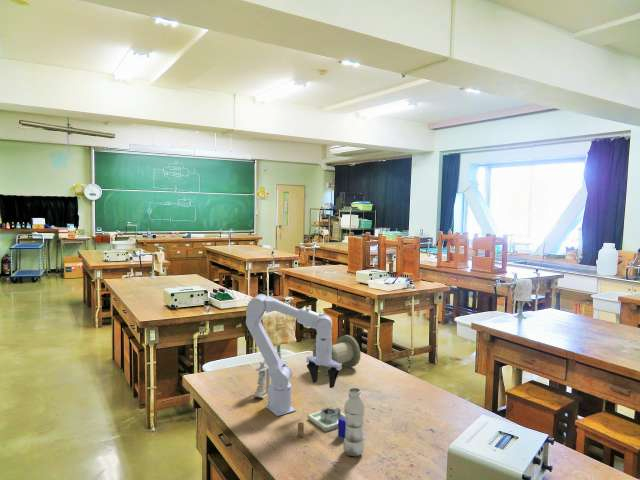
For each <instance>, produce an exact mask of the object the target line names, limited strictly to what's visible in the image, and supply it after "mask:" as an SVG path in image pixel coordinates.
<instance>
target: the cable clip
mask: <svg viewBox="0 0 640 480" xmlns="http://www.w3.org/2000/svg"><path fill="white" fill-rule="evenodd" d="M345 430H346V419H344V418H341V417H340V418H339V419H338V428H337V437H339V438H343V439H344V438H345Z"/></svg>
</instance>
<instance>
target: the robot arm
mask: <svg viewBox="0 0 640 480" xmlns="http://www.w3.org/2000/svg"><path fill="white" fill-rule="evenodd" d="M245 312H246V313H245V314H246V315H245V316H246V317H245V318H246V319H245V325H246V327H247V329H248V331H249V333H250V335H251V337H252V339H253V341H254V343H255V344H256V346H257V348H258V350H259V352H260V354H261V356H262V358H263V359H264V360H265V361H266V363H265V364H266V366H268V369H269V375H270V383H271V384H270V386H269V388H268V395H267V404H266V405H265V408H267V409H268V410H269V411H270V412H272V413H273V414H274V415H275V416H276V417H279V416H282V415H285V414H289V413H293V412H296V410H297V409H296V408H295V407H293V406H292V384H291V382H290V379H291V378H292V375H293V372H292V369H291V368H290V367H289V365H287V364H286V363H285V361H284V360H283V359H282V358H280V355H279V354H278V352H277V350H276V347H274V345H273V342H272V340H271V339H270V337H269V335H268V333H267V331H266V329H265V327H264V326H263V324H262V323H263V322H262V319H263V317H264V314H265V313H266V314H267V313H271V312H278V313H281V314H284V315H286V316H290V317H292V318H295V320H296V321H297V323H299V324H301V325H303V326H305V327H308V328H311V329H315V331H316V337H315V339H316V340H315V345H316V357H313V355H312V356H311V355H308V356H306V360H305V361H306V363H308V364H306V368H307V370H308V371H309V373H310V377H311V381H312V384H316V383H317V382H318V380H319V377H318V376H319V370H318V368H319V366H320V365H323V366H326V367H330V368H331V369H329V370H328V374H329V375H328V381H329V383H328V384H329V385H328V386H329V389H333V388H335V385H336V381H337V378H338V376H339V374H340V372H341V370H342V367H343V364H342V363H341V364H340V363H338V362H336V361H334V360H332V359H331V357H332V345H333V343H332V341H333V338H332V335H333V334H332V333H333V331H332V330H333V329H332V327H333V319H332V317H330V315H328V314H325V313H324V314H323V313H321V312H316V311H313V310H311V308H310V307H301V308H297V307H296V306H295V307H294V306H292V305H290V304H288V303H286V302H283V301H281V300H279V299H277V298H275V297H273V296H271V295H267V294H264V293H258V294H256V295H255V296H254V298H252V299H250V300H249V302H248V304H247V306H246V308H245ZM264 360H263V361H264Z"/></svg>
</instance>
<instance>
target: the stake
mask: <svg viewBox="0 0 640 480" xmlns="http://www.w3.org/2000/svg"><path fill="white" fill-rule="evenodd" d="M304 432H305V424H304V422H298V423H297V437H299V438H303V437H304V436H305V433H304Z"/></svg>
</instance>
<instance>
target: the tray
mask: <svg viewBox="0 0 640 480" xmlns="http://www.w3.org/2000/svg"><path fill="white" fill-rule="evenodd" d="M333 408H334V409H335V407H333ZM307 417H308V418H307V419H308V420H309V421H311V422H312V423H313V424H314V425H316V426H318V427H319V428H320V429H321V430H323V431H324V432H329V431H332V430H336V429H338V420H337V422H336V423H333V424H326V423H323V422H322V421H320V420H321V410H320V411H317V412H314V413H309V414H308V415H307ZM340 417H341V418H344V419H345V413H343V412H342V411H340ZM338 419H339V418H338Z"/></svg>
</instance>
